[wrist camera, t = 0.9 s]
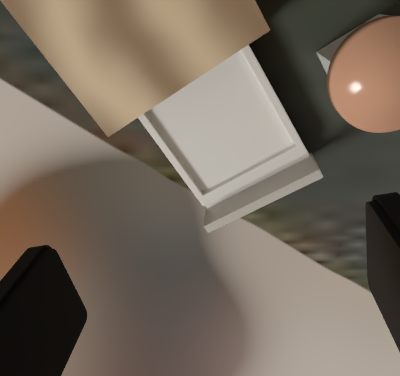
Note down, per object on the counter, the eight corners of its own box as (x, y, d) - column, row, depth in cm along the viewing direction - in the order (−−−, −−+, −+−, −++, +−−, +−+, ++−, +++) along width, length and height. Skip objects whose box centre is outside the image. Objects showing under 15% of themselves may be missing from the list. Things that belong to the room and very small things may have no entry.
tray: (231, 6, 26) (230, 7, 23) (314, 159, 32) (323, 177, 29) (118, 86, 30) (105, 96, 27) (210, 212, 35) (208, 232, 32)
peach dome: (419, -11, 22) (432, -11, 20) (453, 91, 24) (466, 96, 23) (308, 56, 24) (313, 60, 23) (350, 142, 27) (357, 150, 25)
